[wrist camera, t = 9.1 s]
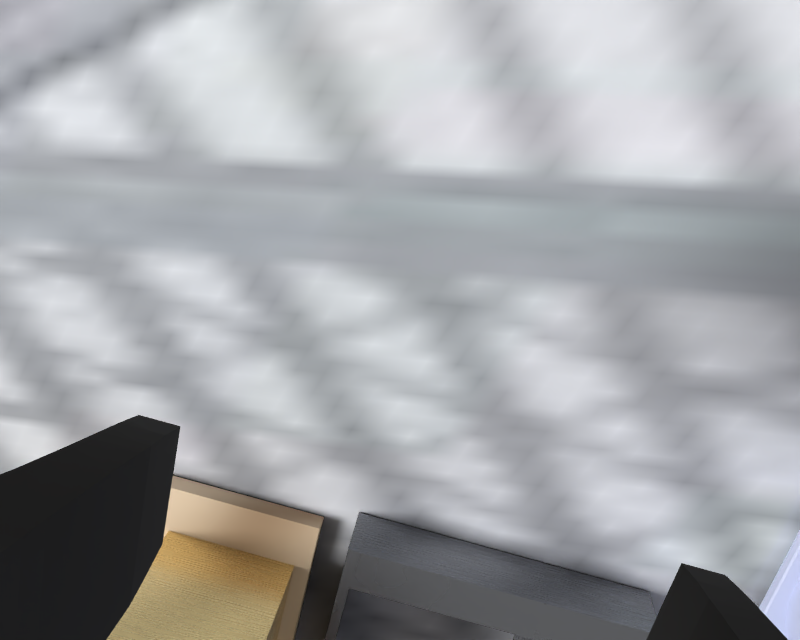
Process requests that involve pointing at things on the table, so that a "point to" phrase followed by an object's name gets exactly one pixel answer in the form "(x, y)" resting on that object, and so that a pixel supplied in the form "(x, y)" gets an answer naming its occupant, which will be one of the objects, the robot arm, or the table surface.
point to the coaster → (249, 533)
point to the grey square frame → (487, 586)
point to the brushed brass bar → (207, 594)
